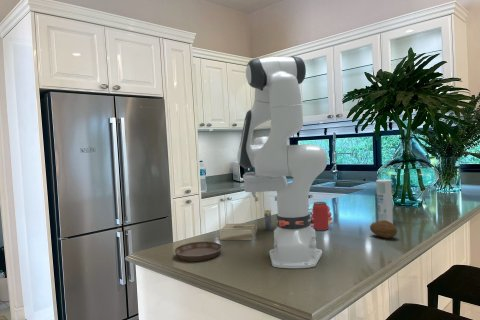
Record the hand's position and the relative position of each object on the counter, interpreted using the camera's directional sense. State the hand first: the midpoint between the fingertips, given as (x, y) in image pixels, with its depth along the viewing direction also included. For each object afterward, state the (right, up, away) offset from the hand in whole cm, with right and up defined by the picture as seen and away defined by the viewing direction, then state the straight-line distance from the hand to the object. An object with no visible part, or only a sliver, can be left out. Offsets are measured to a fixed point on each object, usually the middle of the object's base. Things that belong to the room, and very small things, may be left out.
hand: (266, 200), depth 166 cm
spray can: (+54, -10, -3) cm, 55 cm away
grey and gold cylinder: (+1, -14, 0) cm, 14 cm away
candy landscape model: (+21, -12, +13) cm, 27 cm away
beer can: (+24, -12, -5) cm, 28 cm away
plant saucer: (-28, -17, -32) cm, 46 cm away
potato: (+45, -12, -25) cm, 53 cm away
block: (-13, -15, -7) cm, 21 cm away
